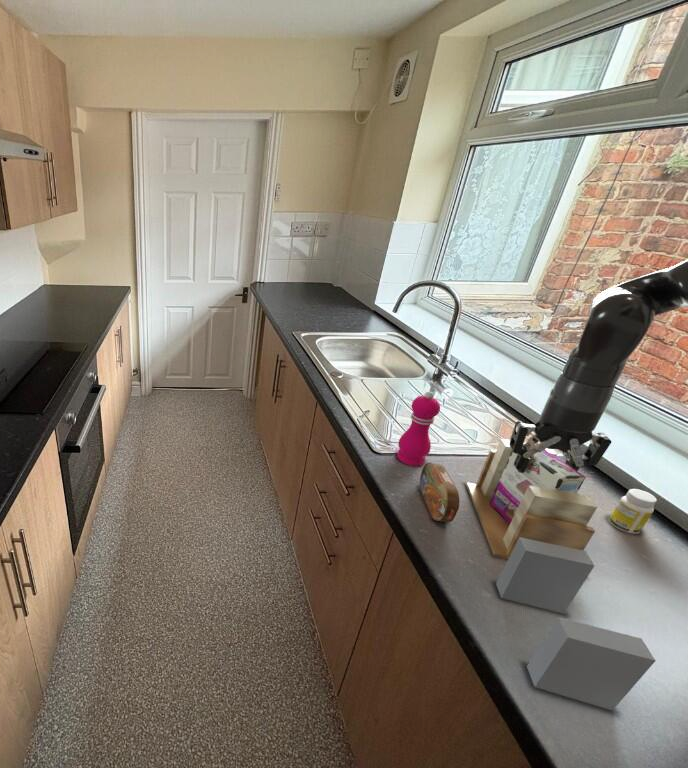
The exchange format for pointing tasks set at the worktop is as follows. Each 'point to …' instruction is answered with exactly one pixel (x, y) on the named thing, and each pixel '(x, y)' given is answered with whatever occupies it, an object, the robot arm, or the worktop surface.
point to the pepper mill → (418, 431)
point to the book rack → (530, 511)
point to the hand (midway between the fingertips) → (541, 474)
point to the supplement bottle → (633, 511)
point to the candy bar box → (532, 481)
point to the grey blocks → (571, 628)
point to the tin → (439, 492)
